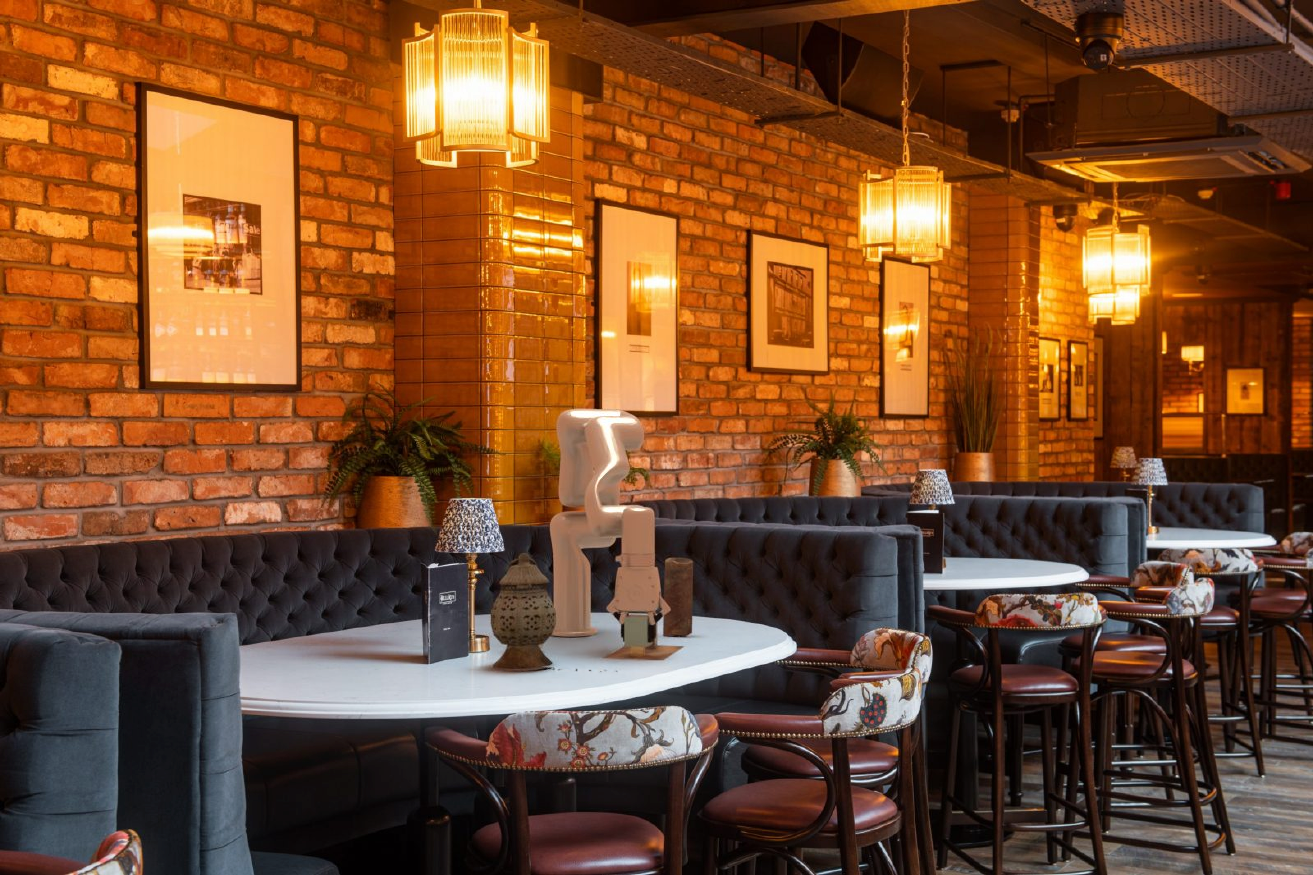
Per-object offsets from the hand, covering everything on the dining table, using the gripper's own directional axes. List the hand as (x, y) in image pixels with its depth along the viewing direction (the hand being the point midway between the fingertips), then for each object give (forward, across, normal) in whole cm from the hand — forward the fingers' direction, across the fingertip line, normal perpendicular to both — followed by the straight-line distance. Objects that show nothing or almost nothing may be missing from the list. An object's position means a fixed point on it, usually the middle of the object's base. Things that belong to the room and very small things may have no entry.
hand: (638, 640), depth 312 cm
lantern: (+4, -22, -16) cm, 28 cm away
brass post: (+3, 0, 0) cm, 3 cm away
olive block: (+1, 0, 0) cm, 1 cm away
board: (+4, 0, +6) cm, 7 cm away
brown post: (+3, 0, +12) cm, 13 cm away
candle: (+4, +1, +37) cm, 37 cm away
